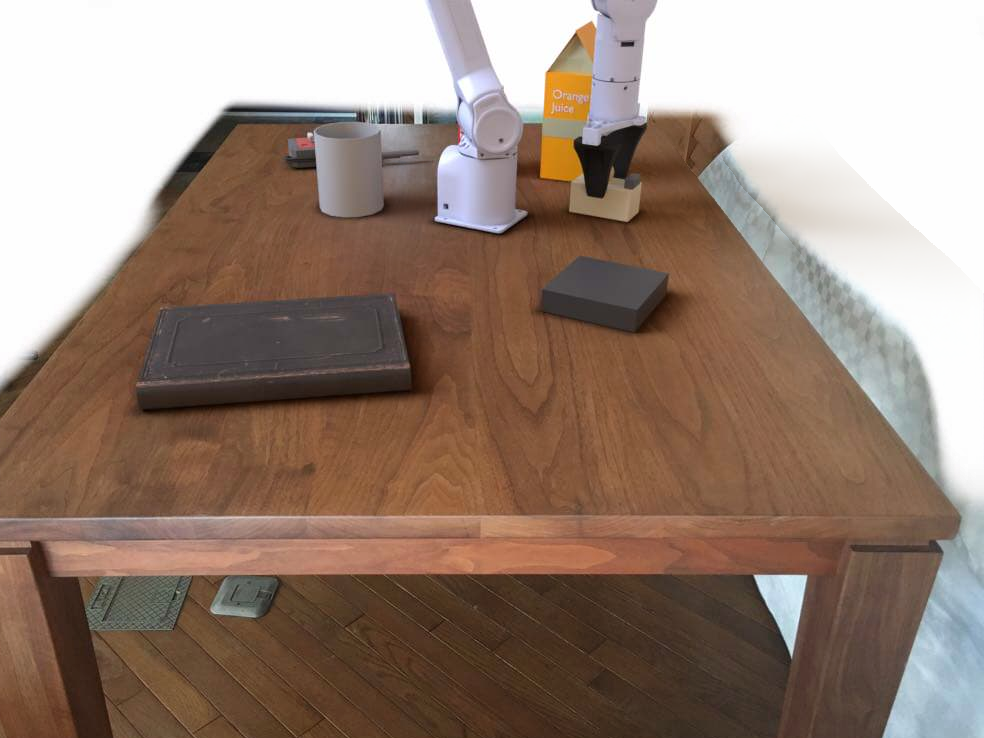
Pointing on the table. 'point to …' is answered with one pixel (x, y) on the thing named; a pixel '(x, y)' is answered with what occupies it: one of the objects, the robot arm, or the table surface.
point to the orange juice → (567, 105)
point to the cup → (349, 168)
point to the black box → (605, 293)
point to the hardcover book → (274, 351)
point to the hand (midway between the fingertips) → (606, 188)
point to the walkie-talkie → (306, 157)
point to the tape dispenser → (608, 198)
